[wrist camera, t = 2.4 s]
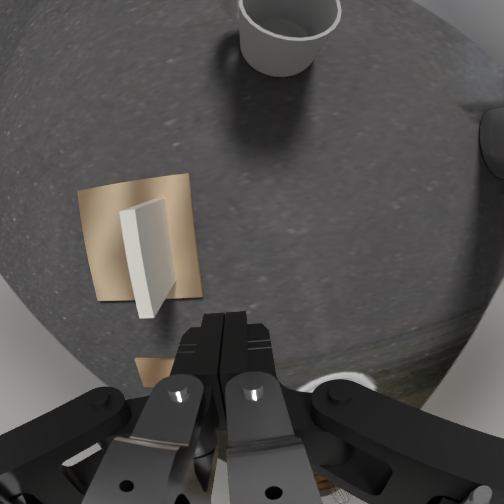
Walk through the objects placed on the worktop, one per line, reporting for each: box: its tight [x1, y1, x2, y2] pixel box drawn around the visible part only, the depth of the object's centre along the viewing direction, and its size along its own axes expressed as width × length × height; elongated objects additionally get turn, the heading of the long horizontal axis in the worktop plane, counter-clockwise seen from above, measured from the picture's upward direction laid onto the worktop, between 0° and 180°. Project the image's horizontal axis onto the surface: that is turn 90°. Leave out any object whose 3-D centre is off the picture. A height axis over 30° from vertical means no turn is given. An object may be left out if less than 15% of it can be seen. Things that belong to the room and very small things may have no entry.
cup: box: [219, 0, 342, 77], centre depth 18 cm, size 7×10×9 cm
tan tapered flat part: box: [135, 358, 175, 388], centre depth 31 cm, size 13×4×1 cm, turn 94°
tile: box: [119, 198, 176, 318], centre depth 23 cm, size 1×8×8 cm, turn 5°
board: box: [77, 173, 203, 301], centre depth 27 cm, size 12×12×1 cm
